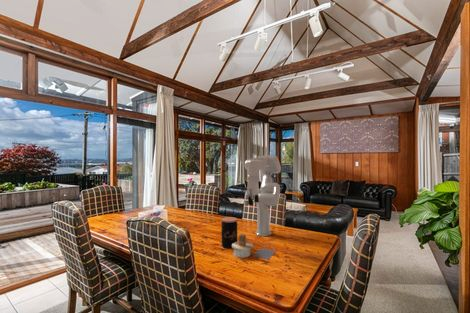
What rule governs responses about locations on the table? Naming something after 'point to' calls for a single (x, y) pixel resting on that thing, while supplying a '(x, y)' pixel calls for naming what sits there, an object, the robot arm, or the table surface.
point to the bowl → (241, 253)
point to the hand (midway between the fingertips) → (253, 203)
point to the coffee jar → (229, 231)
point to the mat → (264, 253)
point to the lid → (242, 244)
